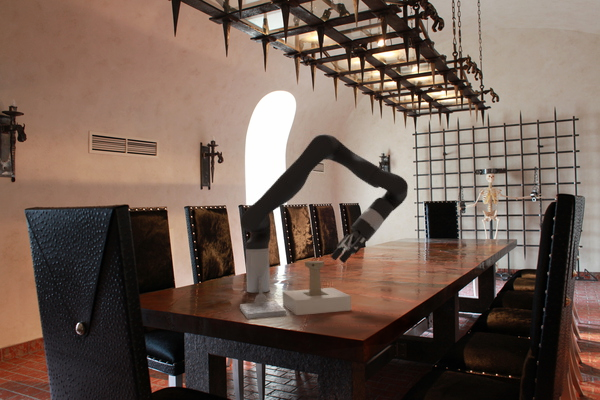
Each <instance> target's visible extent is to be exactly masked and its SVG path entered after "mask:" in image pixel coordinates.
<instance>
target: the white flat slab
mask: <svg viewBox="0 0 600 400" xmlns="http://www.w3.org/2000/svg"><path fill="white" fill-rule="evenodd" d="M239 309H241V310H240V312H242V314H243V315H244V317H245V318H246V320H250V319H261V318H273V317H282V316H287V311H286V309H285V308H284V307H283V306H282V305H280V304H279V303H278V302H276V301H275V300H274V301H268V302H262V303H256V302H252V303H240V304H239Z"/></svg>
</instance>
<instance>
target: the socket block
mask: <svg viewBox="0 0 600 400" xmlns="http://www.w3.org/2000/svg"><path fill="white" fill-rule="evenodd" d="M282 305H283V306H284V307H285V308H287V309H288V310H289V311H291V312H292V313H293V314H294V315H295V316H301V315H302V316H304V315H312V314H313V315H315V314H326V313H334V312H336V313H337V312H347V311H348V312H349V311H352V296H351V295H350V294H347V293H345V292H342V291H341V290H338V289H336V288H334V287H325V288H322V287H321V296H310V295H309V289H299V290H285V291H284V290H283V291H282Z"/></svg>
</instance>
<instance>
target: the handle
mask: <svg viewBox="0 0 600 400" xmlns="http://www.w3.org/2000/svg"><path fill="white" fill-rule="evenodd" d="M304 266H305V267H306V268H308V270H309V282H308V283H309V286H308V287H309V295H310V296H321V288H322V283H321V282H322V281H321V268H322V267H324V266H325V261H324V260H307V261H305V262H304Z"/></svg>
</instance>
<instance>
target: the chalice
mask: <svg viewBox="0 0 600 400" xmlns="http://www.w3.org/2000/svg"><path fill="white" fill-rule="evenodd" d="M249 252H250V253H251V265H252V268H253V271H254V272H255V274H256V276H257V277H259V282H258V283H259V293H257V294H256V296H255V298H254V300H253V303H262V302H269V300H268V297H267V296H266V294H264V292H262V289H263V287H262V283H263V282H262V277H263V276H264V275H265V273H266V271H267V268H268V265H269V266H270V258H269V259H268V253H270V249H269V250H256V251H249Z"/></svg>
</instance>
